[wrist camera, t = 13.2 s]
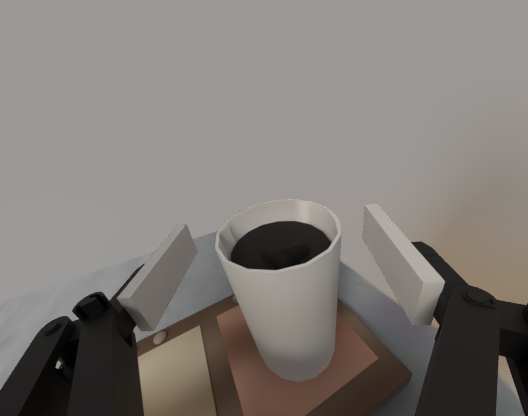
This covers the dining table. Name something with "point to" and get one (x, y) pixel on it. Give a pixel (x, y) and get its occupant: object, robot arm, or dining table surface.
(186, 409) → the tile board
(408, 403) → the dining table surface
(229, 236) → the white coffee cup
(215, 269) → the dining table surface
